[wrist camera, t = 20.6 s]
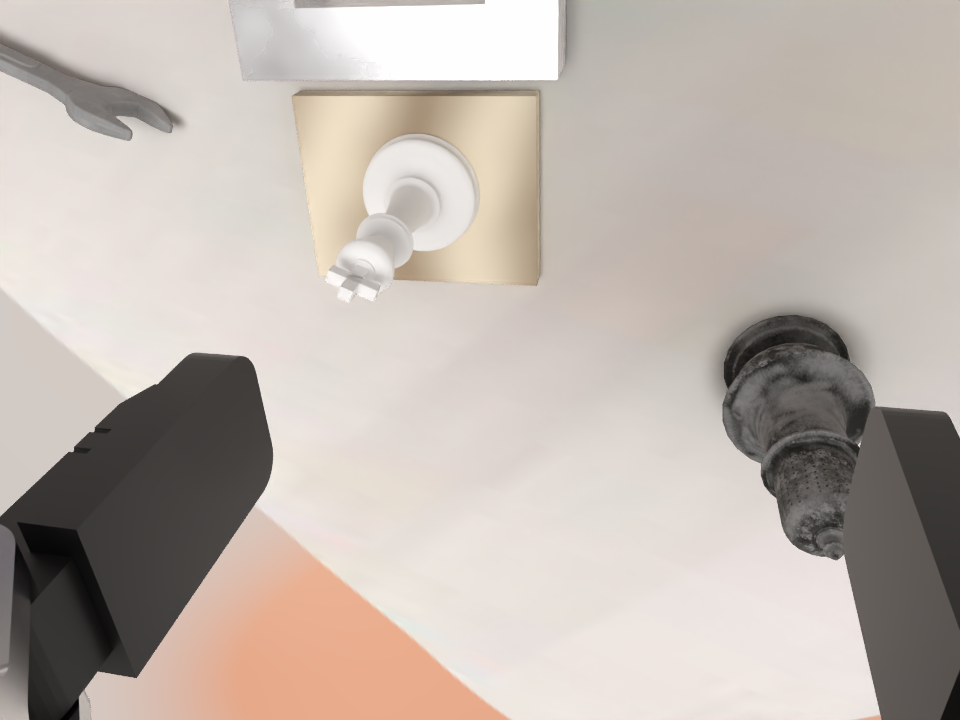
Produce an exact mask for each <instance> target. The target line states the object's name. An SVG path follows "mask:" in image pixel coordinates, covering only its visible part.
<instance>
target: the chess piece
mask: <svg viewBox="0 0 960 720" xmlns="http://www.w3.org/2000/svg"><path fill="white" fill-rule="evenodd" d="M363 199H364V204H365V207H366V210H367V213H368V215H369V216H368V217H367V218H365V219H364V220H363V221H362V222H361V224H360V225H359V227H358V230H357V235H356V239H355V240H353V241H350V242H348V243H347V244H346V245H344V246H343V247H342V248H341V250H340V251H339V253H338V256H337V260H336V266H335V265H333V266H332V267H331V268H330V269H329V271H328V274H327V277H326V281H325V282H328V283H330V284H332V285H335V286H337V287H339V288H340V289H339V292H338V295H337V298H339V299H341V300H344V301H346V302H348V303H350V302H351V300H352V299H353V297H354V296H355V295H358V296H361V297H363V298H365V299H368V300H370V301H372V302H374V301H375V299H376V298H377V296H378V294H379V293H381V292H383V291H385V290H386V289H387V288H388V287H389V286H390V284H391V282H392V280H393V277H394V272H395V268H398V267H400V266H402V265H404V264H405V263H406V262H407V261H408V260H409V259H410V257H411V255H412V252H413V250H416V251H433V250H438V249H441V248H444V247H446V246H448V245H450V244H452V243H454V242H455V241H456V240H458V239H459V238H460V237H461V236H462V235H463V234H464V233H465V232H466V231H467V230H468V229H469V228H470V226H471V225H472V223H473V221H474V219H475V217H476V214H477V211H478V207H479V199H480V194H479V185H478V181H477V178H476V175H475V172H474V170H473V168H472V167H471V165H470V163H469V162H468V160H467V159H466V158H465V156H464V155H463V154H462V153H461V152H460V151H459V150H458V149H456V148H455V147H454V146H453V145H451V144H450V143H448V142H446V141H444V140H442V139H440V138H438V137H435V136H431V135H427V134H407V135H402V136H399V137H396V138H394V139H392V140H390V141H389V142H387V143H386V144H384V145H383V146H382V147H381V148H380V149H379V150H378V151H377V152H376V153H375V155H374V156H373V158H372V159H371V161H370V163H369V166H368V168H367V170H366V173H365V176H364V180H363Z"/></svg>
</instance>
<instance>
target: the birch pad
mask: <svg viewBox="0 0 960 720" xmlns="http://www.w3.org/2000/svg"><path fill="white" fill-rule="evenodd" d="M292 102H293V108H294V115H295V122H296V128H297V135H298V142H299V148H300V155H301V161H302V168H303V175H304V181H305V188H306V195H307V201H308V208H309V215H310V221H311V228H312V234H313V241H314V248H315V254H316V261H317V268H318V274H319V276H322V277H327V274H328V271H329V269H330V268H331V267H332V266H333V265H335V266H336V260H337V256H338V253H339V251H340V250H341V248H342V247H343V246H344V245H346V244H347V243H348V242H350V241H353V240H355V239H356V235H357V230H358V227H359V225H360V224H361V222H362V221H363V220H364V219H365V218H367V217H368V216H369V215H368V213H367V210H366V207H365V204H364V199H363V180H364V176H365V173H366V170H367V168H368V166H369V163H370V161H371V159H372V158H373V156H374V155H375V153H376V152H377V151H378V150H379V149H380V148H381V147H382V146H383V145H384V144H386V143H387V142H389V141H390V140H392V139H394V138H396V137H399V136H402V135H407V134H427V135H431V136H435V137H438V138H440V139H442V140H444V141H446V142H448V143H450V144H451V145H453V146H454V147H455V148H456V149H458V150H459V151H460V152H461V153H462V154H463V155H464V156H465V158H466V159H467V160H468V162H469V163H470V165H471V167H472V168H473V170H474V172H475V175H476V178H477V181H478V185H479V194H480V199H479V207H478V211H477V214H476V217H475V219H474V221H473V223H472V225H471V226H470V228H469V229H468V230H467V231H466V232H465V233H464V234H463V235H462V236H461V237H460V238H459V239H458V240H456V241H455V242H454V243H452V244H450V245H448V246H446V247H444V248H441V249H438V250H433V251H416V250H413V252H412V255H411V257H410V259H409V260H408V261H407V262H406V263H405V264H404V265H402V266H400V267H398V268H395V272H394V277H393V280H415V281H439V282H462V283H486V284H509V285H532V286H537V284H538V280H539V277H540V136H539V91H299V92H298V93H296V94H294V95H292Z"/></svg>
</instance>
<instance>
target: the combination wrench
mask: <svg viewBox="0 0 960 720" xmlns="http://www.w3.org/2000/svg"><path fill="white" fill-rule="evenodd" d="M0 71H2V72H4V73H6V74H8V75H10V76H13V77H15V78H17V79H19V80H21V81H24V82H26V83H28V84H30V85H32V86H35V87H37V88H39V89H41V90H43V91H46V92H48V93H49V94H50V95H52V96H53V97H55V98H56V99H57V100H59V101H60V102H62V103H63V104H64V105H65V107H66V111H67V113H68V115H69V116H70V117H71V118H72V119H73V121H75V122H77V123H78V124H80V125H82V126H83V127H86V128H88V129H90V130H92V131H95V132H98V133H101V134H104V135H107V136H111V137H115V138H119V139H123V140H127V141H130V140H131V139H132V135H133V133H132V130H131V129H130V128H129V127H128V126H126V125H125V124H124V123H122V122H121V121H120V120H119V119H117V118H116V117H115V116H128V117H136V118H138V119H140V120H142V121H143V122H145V123H147V124H149V125H151V126H153V127H155V128H157V129H159V130H161V131H164V132H167V133H172V128H173V126H172V123H171V121H170V120H169V118H168V117H167V115H166V114H165V112H164V111H163V110H162V109H161V107H160V106H159V105H158V104H157V103H156V102H154V101H152V100H149V99H147V98H145V97H143V96H141V95H138V94H136V93H134V92H132V91H129V90H126V89H122V88H118V87H105V86H100V85H97V84H94V83H90V82H87V81H84V80H81V79H78V78H75V77H71V76H69V75H66V74H64V73H62V72H60V71H58V70H56V69H54V68H51V67H49V66H47V65H45V64H43V63H41V62H39V61H36V60H34V59H32V58H30V57H28V56H26V55H24V54H21V53H19V52H17V51H15V50H13V49H11V48H9V47H6V46H4V45H2V44H0Z"/></svg>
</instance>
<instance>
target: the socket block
mask: <svg viewBox="0 0 960 720" xmlns="http://www.w3.org/2000/svg"><path fill="white" fill-rule="evenodd" d="M229 5H230V11H231V16H232V22H233V27H234V33H235V39H236V44H237V50H238V55H239V61H240V67H241V72H242V78H243V81H268V80H558V78H559V76H560V74H561V71H562V69H563V67H564V65H565V42H566V0H229Z"/></svg>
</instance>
